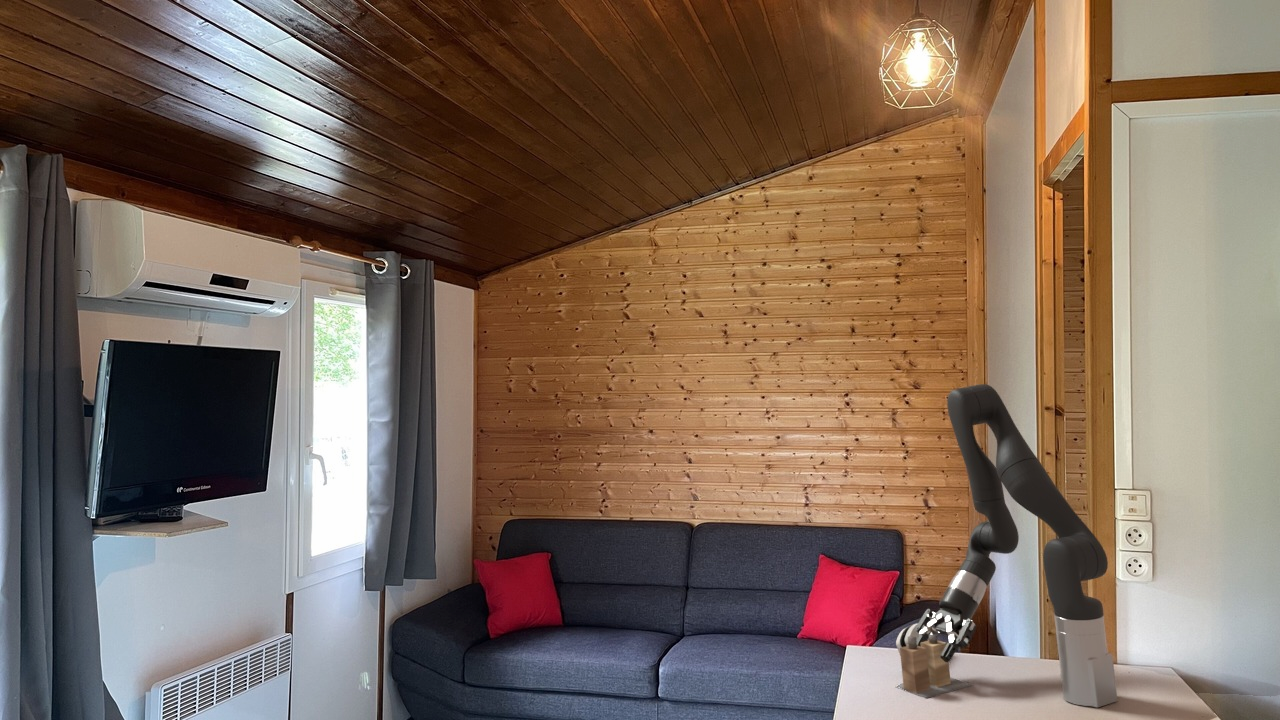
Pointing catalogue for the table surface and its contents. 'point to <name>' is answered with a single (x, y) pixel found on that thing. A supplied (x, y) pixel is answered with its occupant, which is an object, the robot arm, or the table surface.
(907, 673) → the mount
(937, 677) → the wooden peg block
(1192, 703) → the table surface
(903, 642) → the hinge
